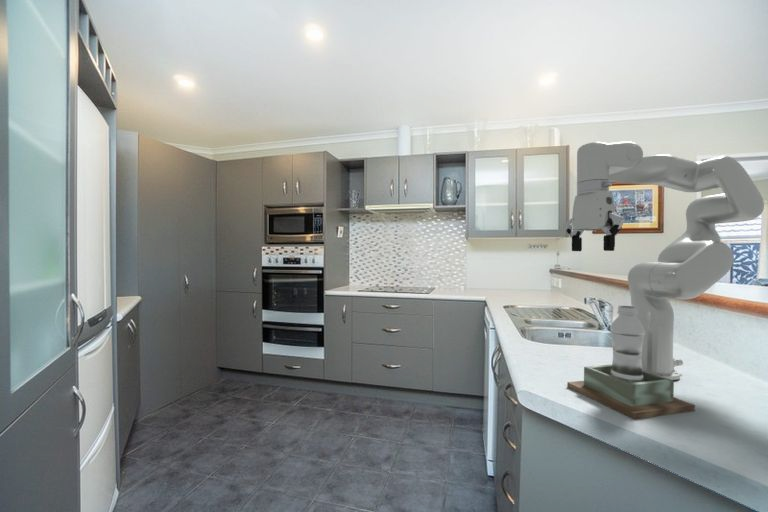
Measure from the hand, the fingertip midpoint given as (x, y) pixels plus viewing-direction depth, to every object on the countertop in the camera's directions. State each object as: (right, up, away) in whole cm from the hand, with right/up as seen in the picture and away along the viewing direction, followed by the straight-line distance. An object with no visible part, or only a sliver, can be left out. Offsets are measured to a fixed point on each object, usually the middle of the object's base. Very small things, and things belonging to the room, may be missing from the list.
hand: (592, 250), depth 93 cm
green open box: (-1, -34, -15) cm, 38 cm away
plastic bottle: (-1, -33, -15) cm, 37 cm away
